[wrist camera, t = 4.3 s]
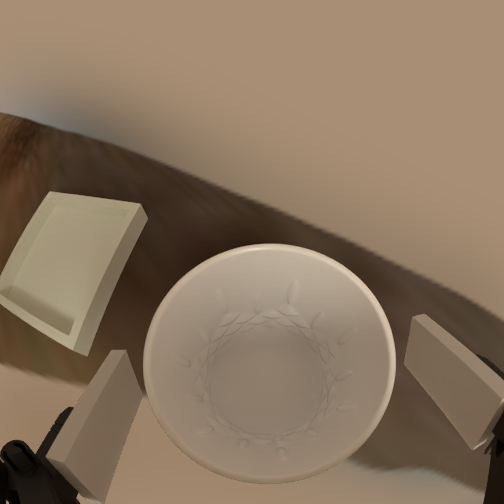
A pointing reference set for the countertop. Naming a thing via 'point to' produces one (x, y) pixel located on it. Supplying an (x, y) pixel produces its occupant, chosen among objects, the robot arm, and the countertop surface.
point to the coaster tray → (70, 265)
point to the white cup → (269, 363)
